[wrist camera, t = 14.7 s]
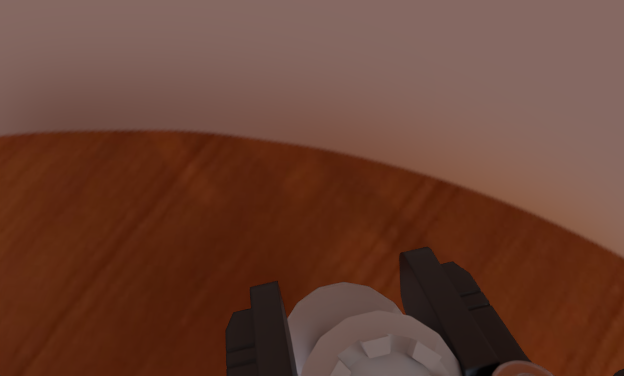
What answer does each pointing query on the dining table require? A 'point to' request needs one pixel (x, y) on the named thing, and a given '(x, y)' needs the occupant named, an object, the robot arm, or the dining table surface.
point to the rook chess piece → (363, 337)
